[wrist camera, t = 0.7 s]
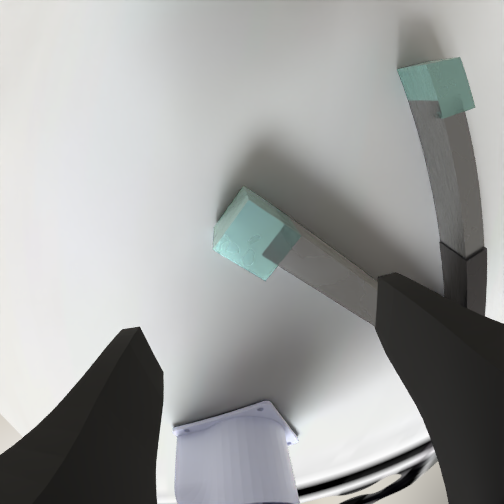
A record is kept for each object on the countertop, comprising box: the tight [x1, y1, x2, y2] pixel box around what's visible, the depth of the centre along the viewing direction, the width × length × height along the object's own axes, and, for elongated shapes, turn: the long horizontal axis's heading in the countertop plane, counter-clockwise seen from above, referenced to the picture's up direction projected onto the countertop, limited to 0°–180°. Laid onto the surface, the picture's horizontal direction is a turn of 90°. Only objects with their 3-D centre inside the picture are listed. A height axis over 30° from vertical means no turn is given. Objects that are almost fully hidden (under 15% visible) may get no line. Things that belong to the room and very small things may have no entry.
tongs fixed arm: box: [397, 57, 487, 316], centre depth 17 cm, size 19×3×3 cm, turn 24°
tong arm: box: [213, 186, 378, 326], centre depth 18 cm, size 22×4×3 cm, turn 54°
